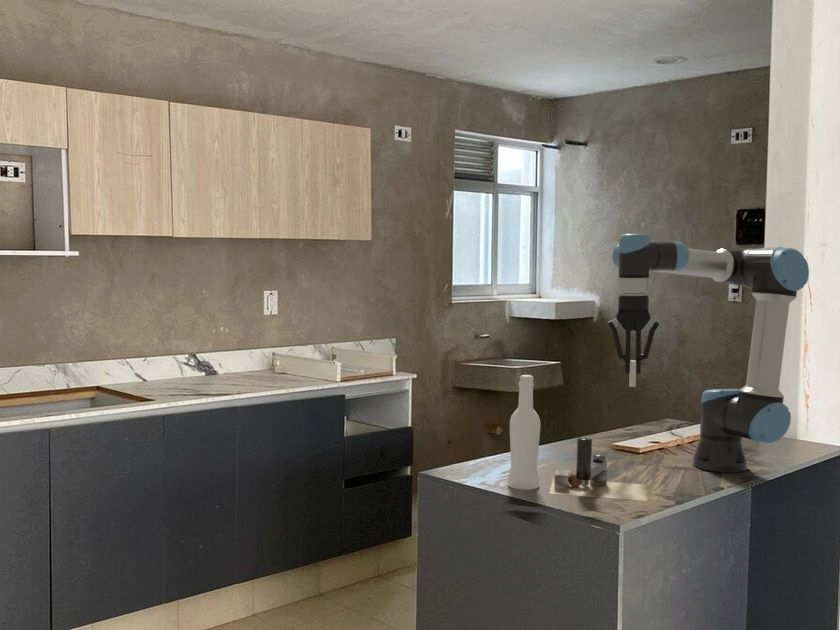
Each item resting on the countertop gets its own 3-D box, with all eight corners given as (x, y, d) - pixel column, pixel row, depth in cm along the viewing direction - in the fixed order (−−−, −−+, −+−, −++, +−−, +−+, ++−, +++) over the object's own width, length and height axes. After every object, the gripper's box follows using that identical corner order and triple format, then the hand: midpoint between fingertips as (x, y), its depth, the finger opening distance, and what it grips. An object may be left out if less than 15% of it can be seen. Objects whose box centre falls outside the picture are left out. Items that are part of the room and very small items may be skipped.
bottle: (505, 485, 226) (507, 373, 224) (535, 485, 226) (538, 373, 224) (510, 494, 217) (513, 377, 216) (542, 494, 218) (545, 377, 216)
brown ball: (585, 483, 222) (578, 470, 223) (584, 484, 219) (578, 471, 220) (572, 488, 223) (566, 475, 224) (571, 489, 219) (565, 477, 220)
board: (644, 488, 225) (645, 470, 225) (647, 505, 210) (648, 486, 209) (552, 482, 230) (553, 464, 230) (549, 498, 215) (549, 479, 214)
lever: (607, 482, 225) (609, 431, 224) (587, 494, 212) (588, 441, 212) (592, 480, 227) (594, 429, 226) (571, 492, 215) (573, 439, 214)
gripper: (658, 293, 220) (657, 384, 222) (607, 293, 223) (606, 383, 225) (661, 295, 213) (659, 388, 215) (607, 295, 216) (607, 387, 217)
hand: (632, 385), depth 220 cm, fingers closed
